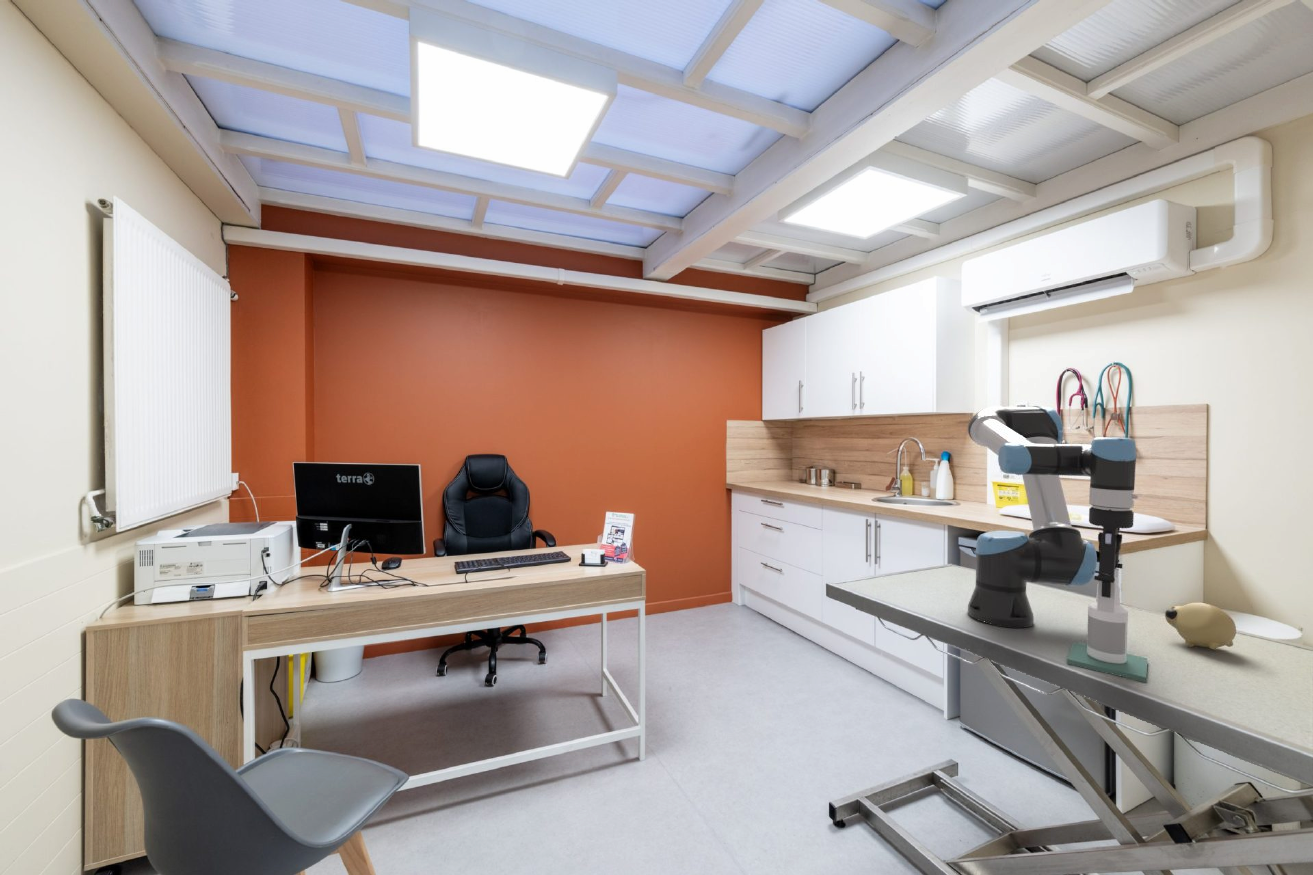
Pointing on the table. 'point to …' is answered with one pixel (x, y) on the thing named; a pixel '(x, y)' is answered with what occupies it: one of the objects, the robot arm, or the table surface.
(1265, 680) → the table surface
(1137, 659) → the mat
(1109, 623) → the spray bottle
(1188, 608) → the toy pig
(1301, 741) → the table surface
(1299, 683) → the table surface
